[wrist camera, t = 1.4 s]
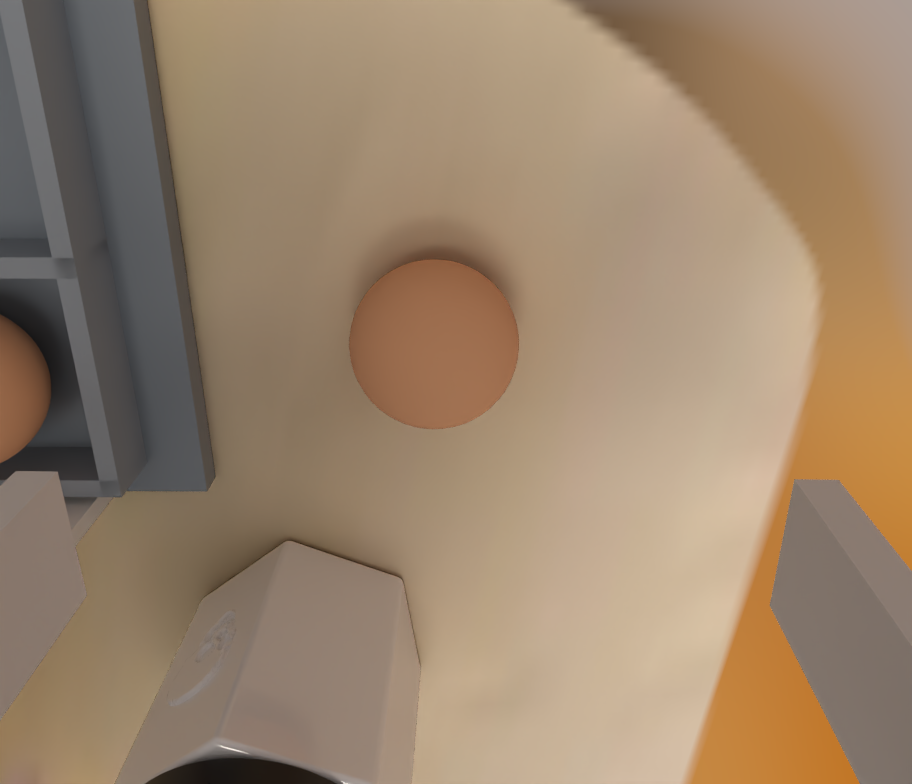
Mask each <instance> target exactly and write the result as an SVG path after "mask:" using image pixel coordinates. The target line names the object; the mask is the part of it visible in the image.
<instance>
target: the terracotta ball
mask: <svg viewBox="0 0 912 784" xmlns="http://www.w3.org/2000/svg"><path fill="white" fill-rule="evenodd" d="M50 400H51V378H50V372H49V369H48V365H47V363H46V360H45V358H44V356H43V354H42V352H41V351H40V349H39V347H38V346H37V344H36V343H35V342H34V340H33V339H32V338H31V337H30V336H29V335H28V334H27V333H26V332H25V331H24V330H23V329H22V328H21V327H19V326H18V325H17V324H15V323H14V322H12V321H11V320H10V319H8V318H6V317H4V316H2V315H1V314H0V463H2V462H4V461H6V460H8V459H9V458H11V457H12V456H14V455H15V454H17V453H18V452H19V451H21V450H22V449H23V448H24V447H25V446H26V445H27V444H28V443H29V442H30V441H31V440H32V439H33V438H34V436H35V435H36V434H37V432H38V431H39V429H40V428H41V426H42V424H43V422H44V420H45V418H46V415H47V412H48V409H49V405H50Z"/></svg>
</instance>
